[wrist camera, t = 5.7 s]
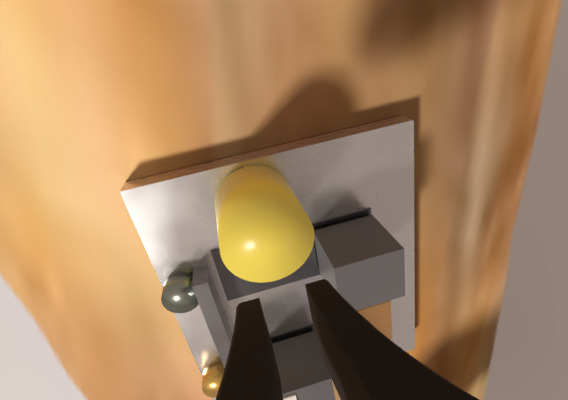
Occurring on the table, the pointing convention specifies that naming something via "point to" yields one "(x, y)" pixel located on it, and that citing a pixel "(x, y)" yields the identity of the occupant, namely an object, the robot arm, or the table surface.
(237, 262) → the cap
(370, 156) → the panel
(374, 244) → the block
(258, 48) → the table surface
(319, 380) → the breaker
